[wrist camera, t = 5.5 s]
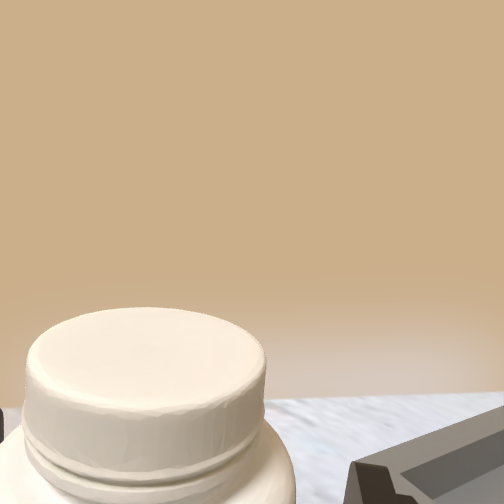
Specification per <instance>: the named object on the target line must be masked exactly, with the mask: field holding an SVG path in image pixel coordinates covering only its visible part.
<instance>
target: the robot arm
mask: <svg viewBox="0 0 504 504" xmlns="http://www.w3.org/2000/svg"><path fill="white" fill-rule="evenodd" d="M3 441H4V417H3V412H2V410H1V409H0V444H1V443H2V442H3ZM343 504H418V502H417V501H416V500H415V499H414V498H413V497H412V496H409V495H402V494H396V492H395V489H394V485H393V482H392V479H391V476H390V473H389V470H388V468H387V467H386V466H381V465H374V464H368V463H361V462H354V461H352V462H351V464H350V468H349V473H348V479H347V485H346V491H345V497H344V502H343Z"/></svg>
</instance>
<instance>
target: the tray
mask: <svg viewBox="0 0 504 504" xmlns="http://www.w3.org/2000/svg"><path fill="white" fill-rule="evenodd" d="M354 462H361V463H368V464H374V465H381V466H386V467H387V468H388V470H389V473H390V476H391V479H392V482H393V485H394V489H395V492H396V494H402V495H409V496H412V497H413V498H414V499H415V500H416V501H417V502H418V504H504V406H501V407H499V408H496V409H493V410H491V411H488V412H485V413H482V414H480V415H477V416H474V417H472V418H469V419H466V420H464V421H461V422H458V423H456V424H453V425H450V426H447V427H445V428H442V429H439V430H437V431H434V432H431V433H429V434H426V435H423V436H420V437H418V438H415V439H412V440H410V441H407V442H404V443H402V444H399V445H396V446H394V447H391V448H388V449H385V450H383V451H380V452H377V453H375V454H372V455H369V456H367V457H364V458H361V459H358V460H356V461H354Z"/></svg>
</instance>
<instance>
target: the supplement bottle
mask: <svg viewBox="0 0 504 504" xmlns="http://www.w3.org/2000/svg"><path fill="white" fill-rule="evenodd" d="M26 363H27V364H26V382H25V402H24V405H23V407H22V423H21V424H20V425H19V426H18V427H17V428H15V429H14V430H13V431H12V432H11V433H10V434H9V435H8V436H7V437H6V438H5V440H4V441H3V442H2V443H1V444H0V504H296V483H295V475H294V470H293V465H292V462H291V459H290V456H289V454H288V452H287V449H286V447H285V445H284V444H283V442H282V440H281V439H280V437H279V435H278V434H277V433H276V432H275V430H274V429H273V428H272V427H271V426H270V424H269V423H268V422H267V421H266V420H265V419H264V413H265V409H264V402H263V397H264V396H263V395H264V384H265V373H266V357H265V353H264V351H263V349H262V347H261V345H260V344H259V342H258V341H257V340H256V339H255V338H254V337H253V336H252V335H251V334H250V333H248V332H246V331H245V330H244V329H242V328H240V327H238V326H236V325H234V324H232V323H230V322H228V321H225V320H223V319H220V318H216V317H213V316H210V315H206V314H202V313H197V312H192V311H186V310H180V309H169V308H153V307H138V308H121V309H111V310H104V311H98V312H94V313H89V314H84V315H81V316H78V317H75V318H72V319H69V320H66V321H64V322H62V323H59V324H57V325H55V326H53V327H51V328H50V329H49V330H47V331H46V332H44V333H43V334H42V335H41V336H40V337H38V339H37V340H36V341H35V342H34V343H33V345H32V346H31V348H30V350H29V352H28V357H27V362H26Z"/></svg>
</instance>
